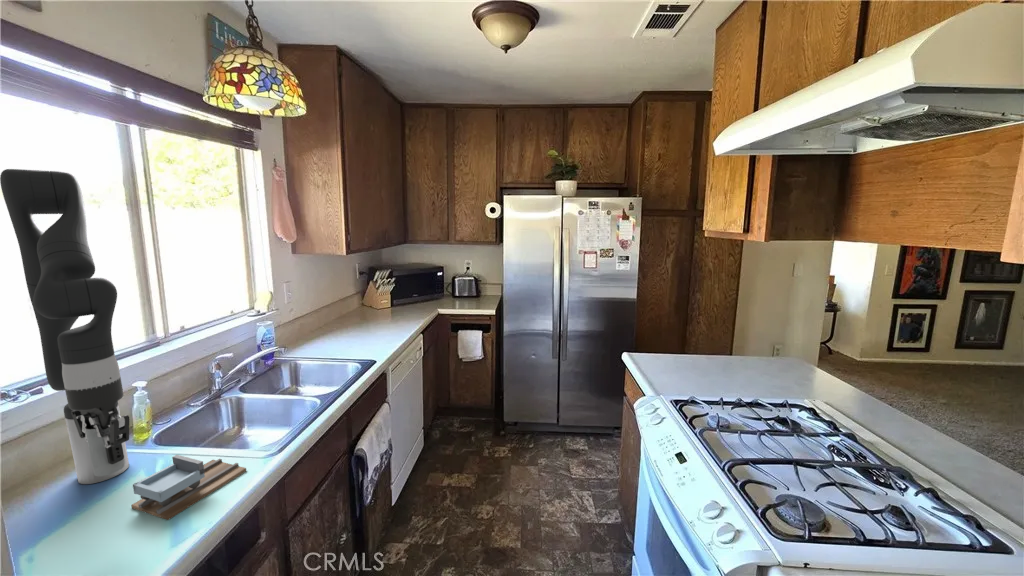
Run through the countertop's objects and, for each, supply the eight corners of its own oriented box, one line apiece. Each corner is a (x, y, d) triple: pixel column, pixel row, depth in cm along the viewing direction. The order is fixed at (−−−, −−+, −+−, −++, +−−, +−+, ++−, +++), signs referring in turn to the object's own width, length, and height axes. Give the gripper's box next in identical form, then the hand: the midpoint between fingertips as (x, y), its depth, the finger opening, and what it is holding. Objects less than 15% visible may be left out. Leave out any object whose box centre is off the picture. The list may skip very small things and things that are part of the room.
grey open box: (135, 501, 88) (131, 477, 87) (180, 476, 97) (176, 454, 96) (162, 510, 85) (158, 485, 84) (206, 484, 94) (202, 461, 93)
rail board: (131, 507, 89) (130, 501, 88) (213, 462, 106) (212, 456, 105) (167, 520, 85) (166, 513, 85) (246, 470, 102) (245, 465, 102)
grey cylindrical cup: (105, 478, 77) (96, 430, 76) (87, 475, 78) (78, 427, 76) (131, 464, 82) (123, 418, 80) (114, 461, 83) (106, 416, 81)
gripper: (140, 377, 78) (153, 455, 81) (95, 368, 82) (109, 443, 85) (90, 393, 71) (107, 478, 74) (44, 382, 75) (61, 463, 78)
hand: (108, 458), depth 80 cm, fingers closed on grey cylindrical cup, 4 cm apart
